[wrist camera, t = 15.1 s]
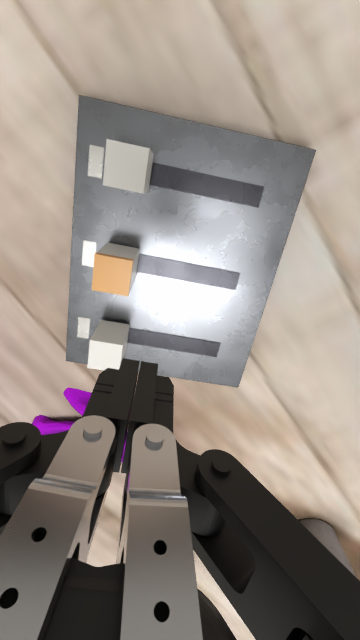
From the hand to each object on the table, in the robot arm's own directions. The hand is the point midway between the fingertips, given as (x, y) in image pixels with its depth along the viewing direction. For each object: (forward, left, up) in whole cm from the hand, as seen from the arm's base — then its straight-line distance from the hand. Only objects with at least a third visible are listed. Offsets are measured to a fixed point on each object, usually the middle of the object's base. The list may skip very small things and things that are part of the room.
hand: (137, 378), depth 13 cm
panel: (-1, 0, -21) cm, 21 cm away
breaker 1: (+4, -8, -18) cm, 20 cm away
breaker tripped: (+4, 0, -18) cm, 19 cm away
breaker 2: (+3, +8, -18) cm, 20 cm away
